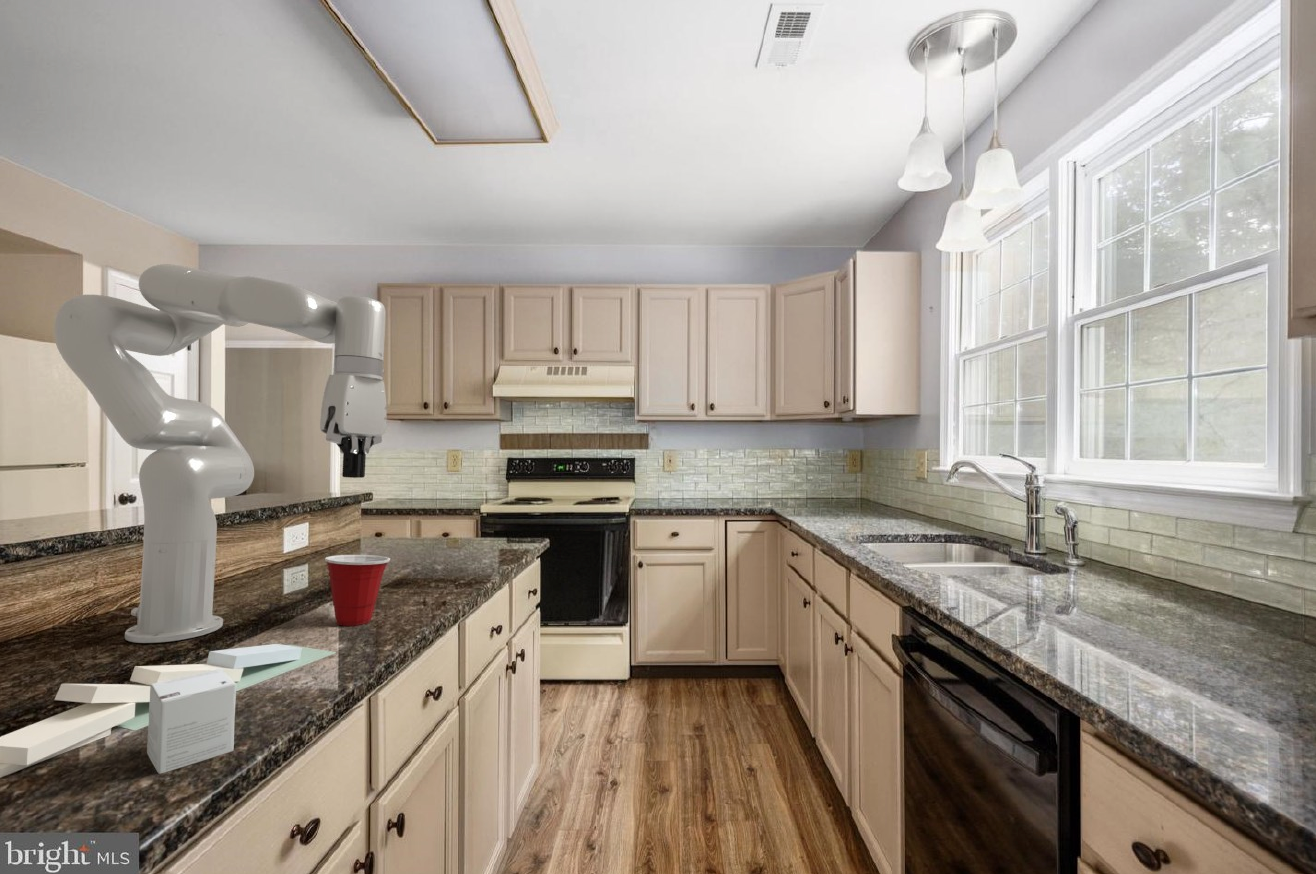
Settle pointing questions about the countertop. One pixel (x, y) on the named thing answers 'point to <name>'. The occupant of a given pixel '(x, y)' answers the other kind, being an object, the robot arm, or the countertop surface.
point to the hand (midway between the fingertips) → (353, 477)
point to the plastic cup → (355, 586)
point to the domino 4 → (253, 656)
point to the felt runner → (248, 678)
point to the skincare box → (190, 719)
